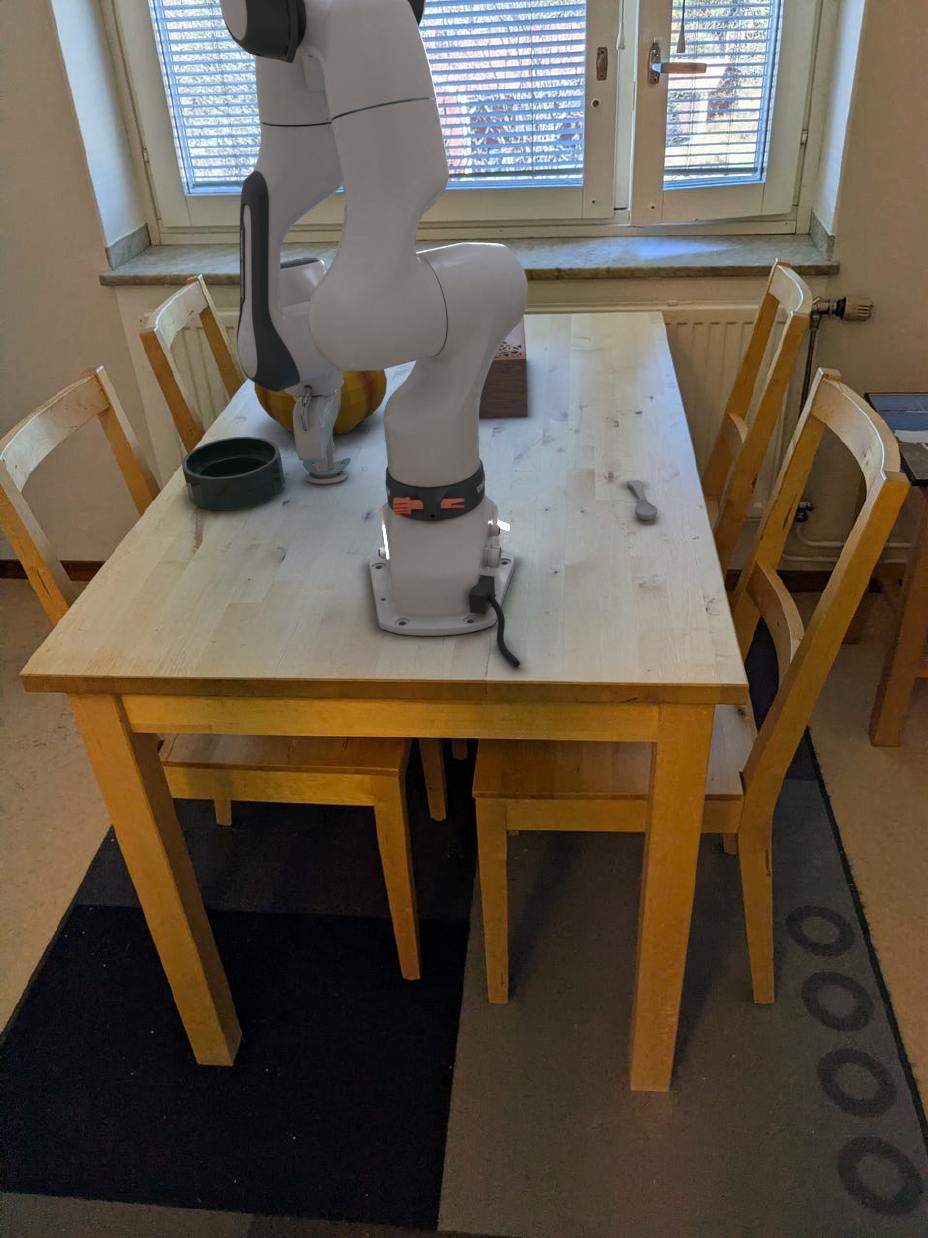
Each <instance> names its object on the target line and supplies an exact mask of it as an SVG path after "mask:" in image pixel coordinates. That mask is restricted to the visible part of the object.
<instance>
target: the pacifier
mask: <svg viewBox="0 0 928 1238" xmlns="http://www.w3.org/2000/svg"><path fill="white" fill-rule="evenodd" d="M334 452H335V442H334V440H332V439H331V438H330V439H329V442H328V445H327V448H326V455H327V456H328V462H329V466H328V470H327V471H317V470H316V467H315V461H302V466H303V468H304V469H305V471H307V472H308V473H307V474H306V475H305V476H304V479H305V480H306V482H309V483H311V484H316V485H317V484H318V485H330V484H335V483H339V482H342V481H344V480H345V479H347V477H348V474H347V473H346V472H345V471H343V470H345V469H346V468H347V467H348V466H349V465H350V463H351V461H352V459H351V457H345V458H343V459H340V460H337V461H335V460H334ZM316 477H317V478H316Z"/></svg>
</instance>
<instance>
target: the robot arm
mask: <svg viewBox="0 0 928 1238" xmlns="http://www.w3.org/2000/svg"><path fill="white" fill-rule="evenodd" d="M218 2H219V8H220V10H221V11H220V12H221V15H222V18H223V21H224V24H225V27H226V29H227V32H228V33H229V35H230V38H231V39H232V40H233V42H234V43H236V44H237V45H238V46H239V47H240V48H241V49H242V50H243V51H245V52H246V53H247V54H249V55H253V56H255V65H254V66H255V68H254V69H255V71H254V72H255V90H256V102H257V110H258V119H259V127H260V144H259V150H258V154H257V159H256V163H255V165H254V168H253V170H252V171H251V172H250V174H249V175H248V176H247V177H246V178H245V179H244V180H243V182H242V187H241V192H240V205H239V313H238V323H237V330H236V351H237V357H238V362H239V364H240V367H241V369H242V371H243V374H244V375H245V376H246V378H247V379H248V380H249V381H251V382H253V384H254V383H256V384H257V385H259V386H261V387H263V388H265V389H268V390H270V391H274V392H279V391H281V390H284V391H285V392H286V393H288V394H290V395H293V397H294V400H295V401H296V404H295V407H294V410H293V426H294V433H293V435H294V441H295V450H296V455H297V458H298V459H299V460H300V461H302V462H303V461H315V464H314V466H315V467H316V470H317V471H327V470H328V466H329V462H328V456H327V455H326V448H327V445H328V442H329V439H330V438H331V439H332V440H333V439H334V434H333V428H334V425H335V422H336V419H337V416H338V413H339V410H340V406H341V387H342V385H343V384H344V378H343V371H370V370H383V369H384V370H387V369H390V368H393V367H397V366H398V367H399V366H401V365H405V364H409V363H413V362H414V365H413V367H412V369H411V370H410V373H409V375H408V376H407V377H406V379H405V380H404V381H403V382H402V383H401V384H400V385H399V386H398V387H397V388H396V389H395V390H394V392H392V394H391V395H390V396H389V398H388V399H387V402H386V403H385V407H384V411H383V416H382V423H383V431H384V440H385V441H384V442H385V448H386V449H385V450H386V457H387V466H386V468H385V481H384V482H385V483H384V484H385V492H386V497H387V501H386V502H385V503H384V504H383V505H382V506H381V507H380V508H379V509H378V510H379V517H380V527H381V535H382V542H383V546H381V547H379V548H378V550H377V551H378V555H376V556H374V557H372V558H371V559H370V560H369V562H368V569H369V577H370V583H371V588H372V593H373V601H374V606H375V612H376V618H377V624H378V627H379V628H380V629H381V630H383V631H386V632H390V633H394V634H399V635H406V636H421V637H423V636H424V637H425V636H452V635H461V634H467V633H473V632H478V631H481V630H484V629H486V628H490V627H492V626H494V625H495V624H496V622H497V631H496V643H497V646H498V649H499V651H500V652H501V653H502V655H503V656H504V657H505V658H506V659H507V660H508V661H509V662H510V663H511V664H512V665H513V666H514V667H515V668H518V667H519V666H520V665H521V662H520V661H519V660H518V659H517V657H516V656H515V655H514V654H513V653H512V652H511V651H510V650H509V649H508V647H507V646H506V644H505V640H504V634H505V633H504V632H505V627H506V626H505V625H506V623H505V622H506V621H505V619H506V618H505V614H504V612H503V609H502V606H503V603H504V600H505V597H506V594H507V591H508V588H509V586H510V582H511V580H512V576H513V573H514V571H515V568H516V565H517V562H516V556H515V554H513V553H512V552H509V551H507V550H504V549H502V547H501V539H500V538H501V537H500V535H501V529H502V530H505V531H507V532H508V531H510V524H509V523H507V522H504V521H502V520H499V509H498V504H497V503H495V501H493V500H492V499H491V498H489V496H487V494H486V473H485V469H484V463H483V461H482V459H481V458H480V419H479V406H480V398H481V394H482V389H483V386H484V382H485V379H486V377H487V374H488V371H489V369H490V366H491V364H492V362H493V359H494V357H495V355H496V353H497V351H498V350H499V348H500V346H501V345H502V343H503V342H504V340H505V339H506V337H507V336H508V335H509V334H510V332H511V331H512V330H513V329H514V328H515V327H516V326H517V325H518V324H519V323H520V321H521V320H522V318H523V315H525V314H526V313H525V312H526V310H527V305H528V302H529V284H528V279H527V275H526V271H525V269H524V266H523V264H522V263H521V261H520V260H519V259H518V257H517V255H516V254H515V253H514V252H513V251H512V250H511V248H508V247H507V246H506V245H505V244H502V243H498V242H497V243H496V242H495V243H494V242H459V243H453V244H449V245H445V246H440V247H434V248H431V249H427V250H421V251H417V245H416V241H417V233H418V229H419V225H420V222H421V220H422V218H423V216H424V214H426V213H427V212H428V211H429V210H430V209H432V207H433V206H434V205H436V203H438V202H439V200H440V199H441V198H442V196H443V195H444V193H445V191H446V189H447V186H448V184H449V183H448V182H449V177H450V167H449V162H448V156H447V152H446V151H447V150H446V145H445V137H444V134H443V126H442V120H441V116H440V109H439V103H438V98H437V91H436V88H435V82H434V81H435V80H434V78H433V72H432V69H431V68H432V67H431V64H430V61H429V57H428V53H427V49H426V46H425V43H424V39H423V36H422V33H421V31H420V24H421V23H422V21H423V18H424V16H425V12H426V6H427V0H218ZM341 187H342V192H343V205H344V207H343V222H342V229H341V233H340V239H339V242H338V246H337V249H336V251H335V255H334V256H333V259H332V261H331V263H330V265H329V267H328V268H327V265H326V263H325V262H324V261H323V260H322V259H320V258H318V257H313V256H312V257H303V258H296V259H292V260H287V261H281V251H282V246H283V242H284V240H285V238H286V236H287V234H288V233H289V232H290V230H291V229H292V227H293V226H294V225H295V224H296V223H297V222H298V221H300V219H302V218H303V217H304V216H305V215H306V214H308V213H309V212H310V211H312V210H313V209H315V208H317V207H318V206H319V205H321V204H322V203H324V202H325V201H327V200H329V199H330V198H332V196H333V195H334V194H336V193H337V192H338V191H339V190H340V189H341ZM333 441H334V440H333Z"/></svg>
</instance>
